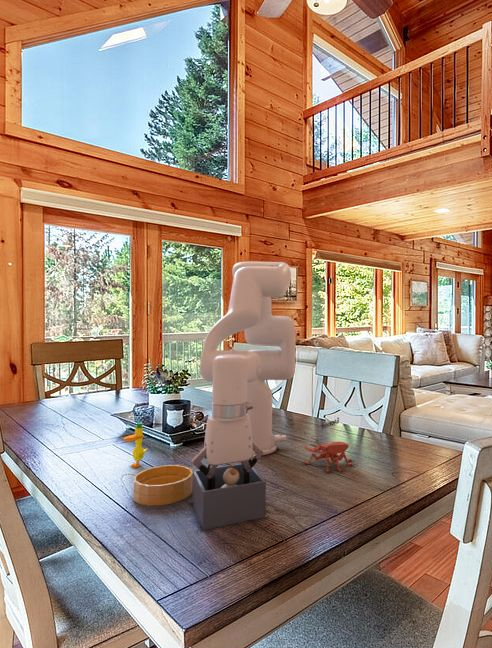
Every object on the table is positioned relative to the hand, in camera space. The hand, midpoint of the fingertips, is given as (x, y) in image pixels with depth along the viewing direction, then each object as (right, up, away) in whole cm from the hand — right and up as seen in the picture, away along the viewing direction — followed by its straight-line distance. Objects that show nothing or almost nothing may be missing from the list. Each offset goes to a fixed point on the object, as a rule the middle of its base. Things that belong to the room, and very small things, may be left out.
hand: (227, 490), depth 100 cm
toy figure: (-32, -5, +26) cm, 42 cm away
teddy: (0, -4, 0) cm, 4 cm away
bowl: (-17, -4, +7) cm, 19 cm away
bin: (0, -4, 0) cm, 4 cm away
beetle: (+21, -6, +31) cm, 38 cm away
